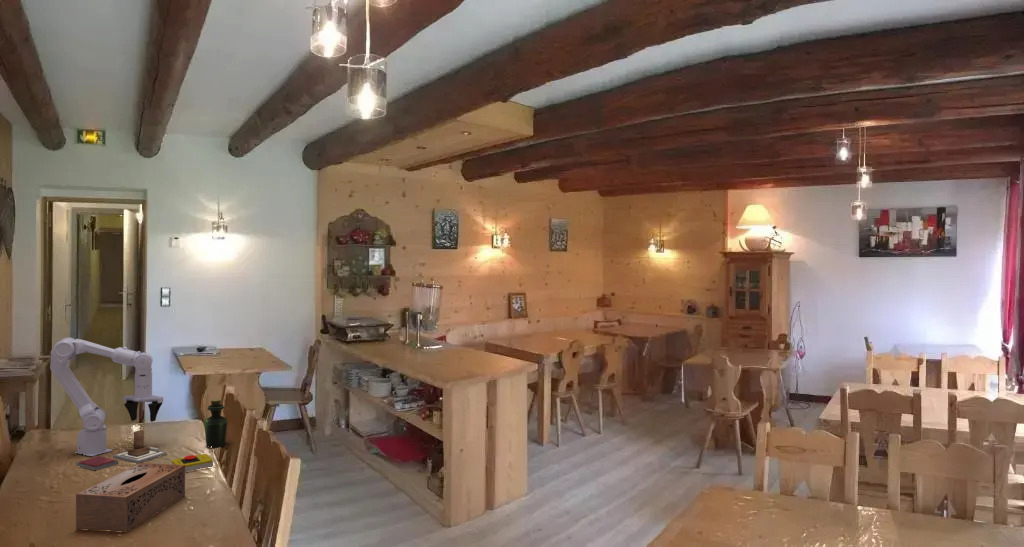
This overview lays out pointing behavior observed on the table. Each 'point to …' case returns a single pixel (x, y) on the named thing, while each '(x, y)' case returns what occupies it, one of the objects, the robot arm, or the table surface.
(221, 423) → the potion bottle
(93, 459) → the ink pad
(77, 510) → the tissue box cover
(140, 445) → the stamp
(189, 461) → the emergency button
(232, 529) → the table surface
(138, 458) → the grey white rectangular board
